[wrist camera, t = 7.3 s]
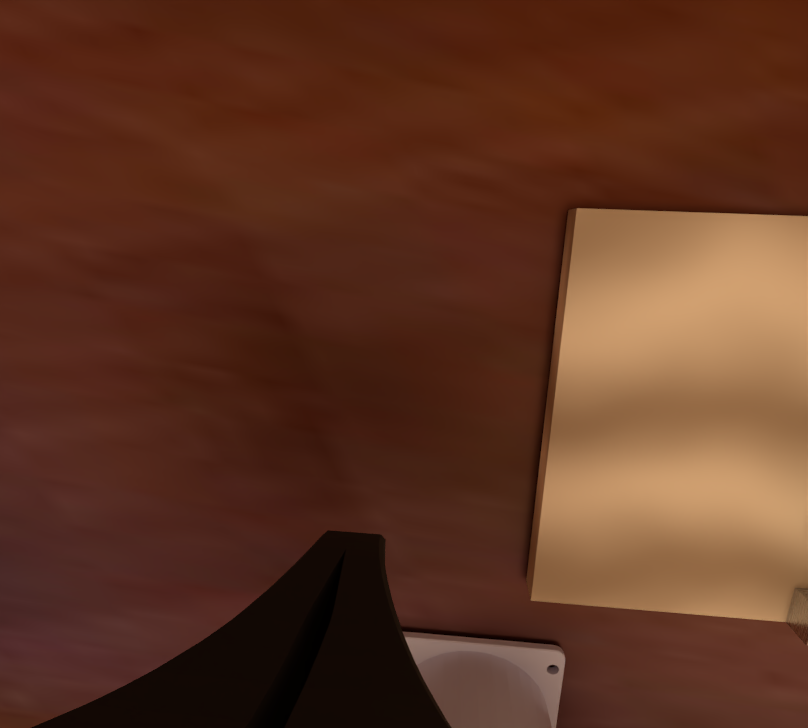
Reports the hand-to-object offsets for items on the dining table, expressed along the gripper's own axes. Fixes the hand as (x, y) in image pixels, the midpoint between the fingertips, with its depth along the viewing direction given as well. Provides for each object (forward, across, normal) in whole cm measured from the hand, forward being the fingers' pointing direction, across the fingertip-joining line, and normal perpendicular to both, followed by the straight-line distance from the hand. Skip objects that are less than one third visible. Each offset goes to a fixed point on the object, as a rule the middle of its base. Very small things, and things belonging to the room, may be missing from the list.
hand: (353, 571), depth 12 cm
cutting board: (+9, -15, -1) cm, 18 cm away
